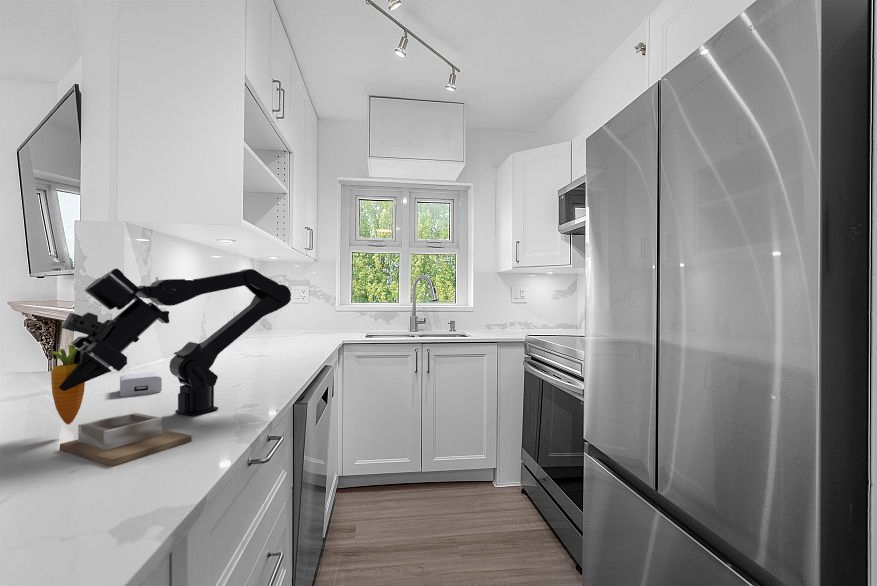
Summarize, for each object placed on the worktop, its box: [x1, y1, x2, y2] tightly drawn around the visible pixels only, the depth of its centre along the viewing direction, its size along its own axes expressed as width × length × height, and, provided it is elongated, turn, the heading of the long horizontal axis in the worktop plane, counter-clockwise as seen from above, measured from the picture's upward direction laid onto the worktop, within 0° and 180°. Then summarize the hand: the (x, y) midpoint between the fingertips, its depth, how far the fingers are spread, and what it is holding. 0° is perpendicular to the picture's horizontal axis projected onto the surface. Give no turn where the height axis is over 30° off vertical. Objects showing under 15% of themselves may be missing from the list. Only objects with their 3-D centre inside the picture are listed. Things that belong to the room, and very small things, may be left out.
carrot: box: [50, 344, 86, 425], centre depth 82 cm, size 5×5×15 cm
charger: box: [119, 371, 162, 397], centre depth 122 cm, size 5×9×15 cm
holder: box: [59, 411, 193, 467], centre depth 77 cm, size 13×16×4 cm
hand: (58, 387), depth 81 cm, fingers closed on carrot, 5 cm apart
